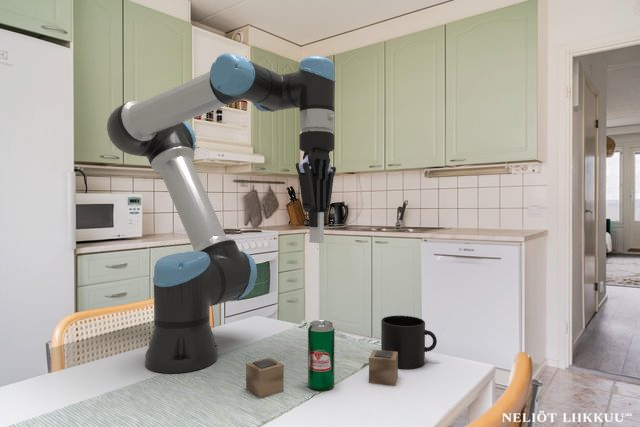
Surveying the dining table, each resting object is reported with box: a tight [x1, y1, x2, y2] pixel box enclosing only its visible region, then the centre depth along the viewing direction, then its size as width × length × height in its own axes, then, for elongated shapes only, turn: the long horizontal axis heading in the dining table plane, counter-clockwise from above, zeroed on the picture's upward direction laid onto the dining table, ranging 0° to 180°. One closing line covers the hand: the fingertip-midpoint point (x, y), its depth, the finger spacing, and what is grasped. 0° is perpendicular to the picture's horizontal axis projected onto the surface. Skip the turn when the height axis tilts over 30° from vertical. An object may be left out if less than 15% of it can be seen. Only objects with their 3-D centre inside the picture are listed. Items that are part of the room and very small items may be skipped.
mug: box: [380, 314, 438, 370], centre depth 96 cm, size 9×12×9 cm
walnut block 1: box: [245, 357, 285, 399], centre depth 81 cm, size 5×5×5 cm
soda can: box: [307, 319, 336, 391], centre depth 83 cm, size 5×5×12 cm
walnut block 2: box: [368, 349, 399, 387], centre depth 86 cm, size 5×5×5 cm
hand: (316, 242), depth 94 cm, fingers closed
